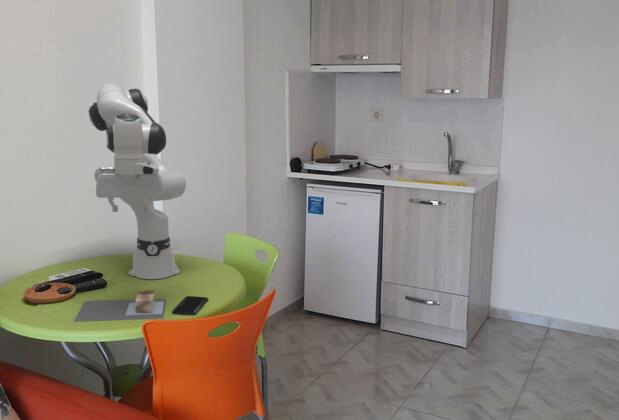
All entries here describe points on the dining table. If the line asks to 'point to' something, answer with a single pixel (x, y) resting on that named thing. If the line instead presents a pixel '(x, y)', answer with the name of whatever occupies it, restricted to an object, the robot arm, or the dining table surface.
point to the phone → (190, 305)
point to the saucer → (48, 293)
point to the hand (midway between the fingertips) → (130, 211)
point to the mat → (117, 310)
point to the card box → (145, 302)
